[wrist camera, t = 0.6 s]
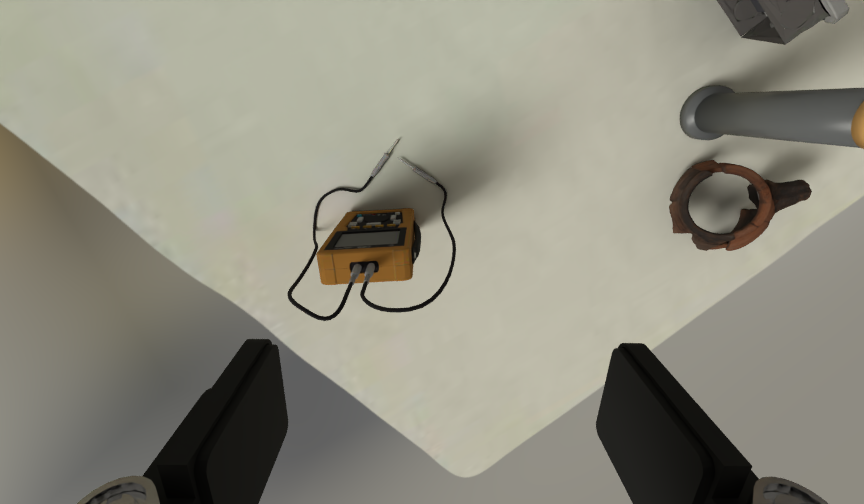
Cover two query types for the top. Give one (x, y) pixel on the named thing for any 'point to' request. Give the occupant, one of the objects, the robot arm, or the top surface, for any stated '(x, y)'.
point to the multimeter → (371, 249)
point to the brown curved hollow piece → (751, 221)
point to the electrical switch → (780, 17)
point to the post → (777, 115)
